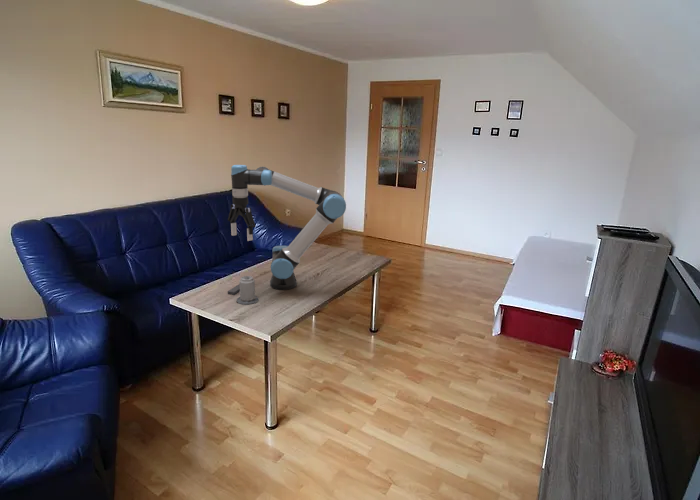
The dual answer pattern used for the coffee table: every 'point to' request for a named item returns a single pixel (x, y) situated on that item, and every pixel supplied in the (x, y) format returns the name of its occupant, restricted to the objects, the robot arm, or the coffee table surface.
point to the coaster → (247, 301)
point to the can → (247, 288)
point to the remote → (234, 290)
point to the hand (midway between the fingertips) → (241, 237)
